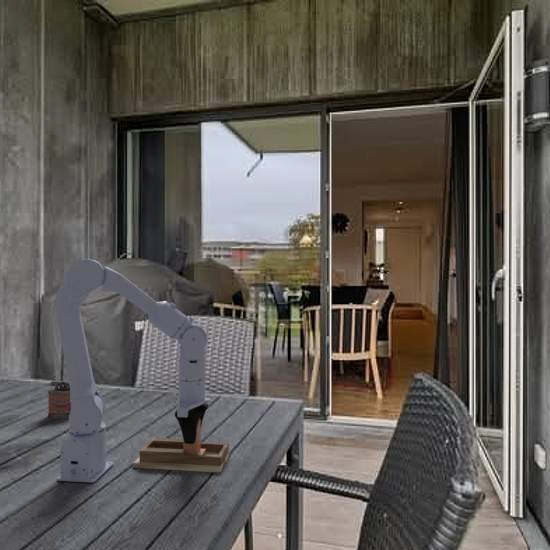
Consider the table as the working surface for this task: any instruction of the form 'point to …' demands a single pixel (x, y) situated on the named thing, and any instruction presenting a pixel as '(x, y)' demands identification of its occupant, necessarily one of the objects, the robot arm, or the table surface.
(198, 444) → the key peg
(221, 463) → the keyhole board
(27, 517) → the table surface
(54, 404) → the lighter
